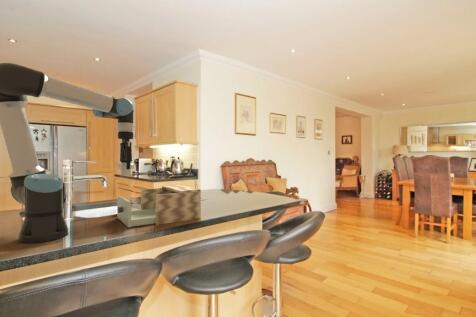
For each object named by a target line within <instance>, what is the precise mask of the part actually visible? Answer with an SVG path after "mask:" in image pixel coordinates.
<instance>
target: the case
mask: <svg viewBox="0 0 476 317" xmlns="http://www.w3.org/2000/svg"><path fill="white" fill-rule="evenodd" d="M201 192H202V191H201V189H200V188H196V187H192V186H187V185H183V184H182V185H181V184H176V185H175V184H174V185H161V187H157V188H156V187H155V188H143V189H140V210H142V209H152V208H156V223H155V225H156V226H158V225H165V224H170V223H177V222H178V223H179V222H183V221H191V220H196V219H201V217H202V216H201V203H202V202H201V197H202V196H201Z"/></svg>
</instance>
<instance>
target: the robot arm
mask: <svg viewBox="0 0 476 317" xmlns="http://www.w3.org/2000/svg"><path fill="white" fill-rule="evenodd" d="M28 96H30V97H34V98H36V99H37V98H40V97H45V98H49V99H53V100H56V101H61V102H65V103H67V104H71V105H77V106H80V107H85V108H89V109H91V110H92V114H93V116H94V117H97V118H101V119H102V118H104V119H113V120H117V131H118V132H117V139H118V140H121V142H120V143H119V147H120V148H119V162H120V164H125V169H120V175H121V176H124V177H127V176H128V177H130V176H131V172H132V169H131V164H132V162H133V154H132V153H133V151H132V143H133V142H132V141H130V140H134V128H135V125H134V111H135V110H134V104H133V102H131V100H130V99H128V98H126V97H120V98H117V97H114V96H112V95H108V94H105V93H101V92H98V91H94V90H91V89H88V88H85V87H82V86H79V85H75V84H72V83H69V82H67V81H63V80H59V79H56V78H53V77H50V76H47V75H46V74H45V72H43V71H39V70H37V69H33V68H31V67H28V66H23V65H20V64H17V63H11V62H2V63H0V128H1V132H2V135H3V139H4V144H5V146H6V150H7V154H8V157H9V161H10V165H11V168H12V172H11V174H10V175H9V179H10V180H9V181H10V184H11V188H10V194H11V196H12V198H13V199H14V200H15V201H16V202H17V203H19V204H22V205H24V220H23V223H22V225H21V228H20V230H19V232H18V242H20V243H24V244H25V243H26V244H37V243H38V244H39V243H44V242H45V243H46V242H50V241H56V240H58V239H62V238H65V237H66V236H68V235H69V228H68V225H67V223H66V219H65V217H64V212H63V211H64V210H63V208H64V206H63V205H64V204H63V201H64V199H63V197H64V196H63V193H64V192H63V189H64V188H63V187H64V182H63V177H62V176H60V175H58V174H54V173H53V174H51V173H47V172H46V168H43V167H42V166H40V163H39V159H38V155H37V151H36V146H35V144H34V140H33V134H32V130H31V127H30V124H29V120H28V115H27V112H26V108H25V107H26V106H27V105H28V104H29V101H28Z"/></svg>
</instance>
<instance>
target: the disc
mask: <svg viewBox="0 0 476 317" xmlns="http://www.w3.org/2000/svg"><path fill="white" fill-rule="evenodd" d="M116 166H117V169H118V170H121V169H125V164H121V163H117V165H116ZM132 169H135V163H131V170H132Z"/></svg>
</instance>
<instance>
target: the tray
mask: <svg viewBox="0 0 476 317" xmlns="http://www.w3.org/2000/svg"><path fill="white" fill-rule="evenodd" d="M127 199H128V198H126V197H124V196H123V195H120V194H119V195H117V196H116V204H117V206H116V208H117V210H116V212H117V214H116V215H117V216H116V218H117V219H118V220H119V221H121V223H122V224H124V225H125V226H126V227H127V228H132V227H138V226H146V225H152V224H156V208H152V209H142V210H141V209H135V210H132V200H131V201H129V200H127Z"/></svg>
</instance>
